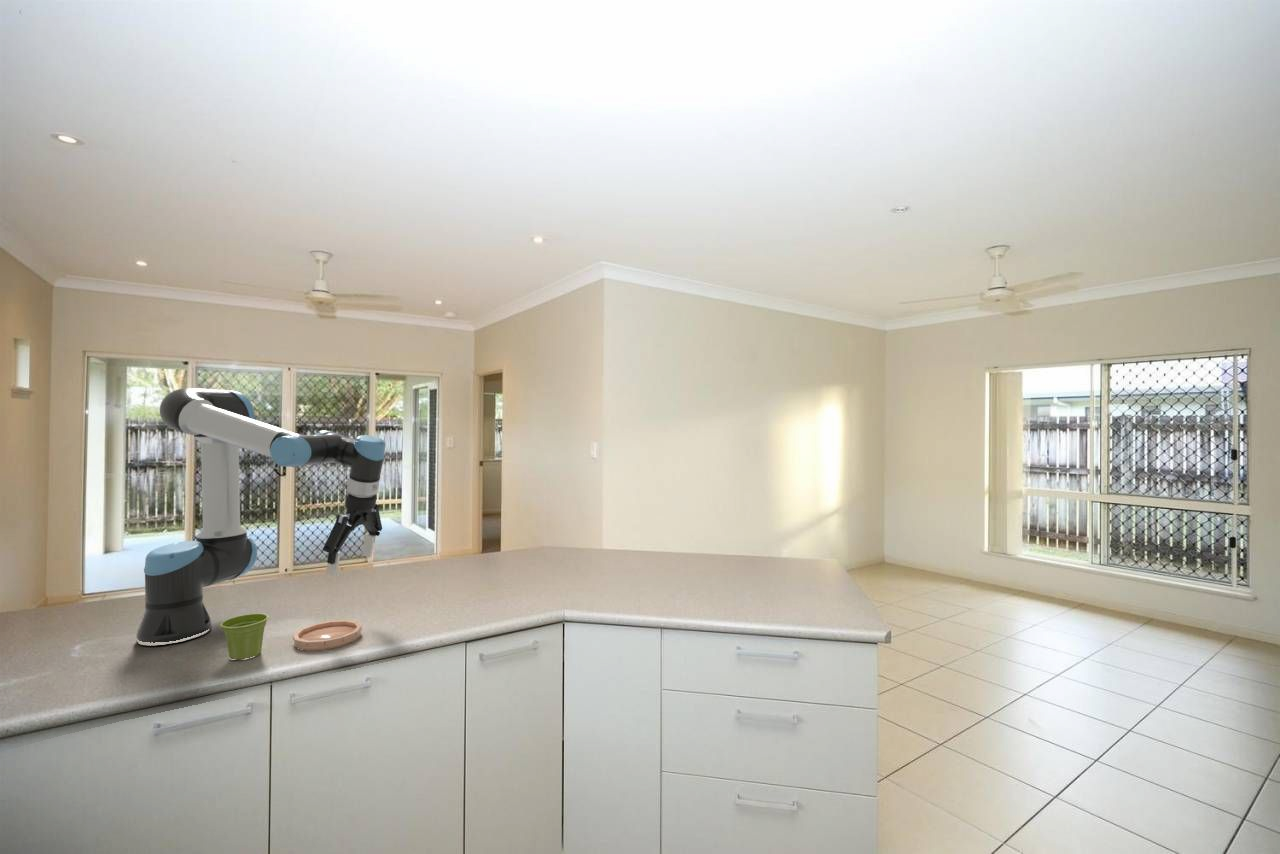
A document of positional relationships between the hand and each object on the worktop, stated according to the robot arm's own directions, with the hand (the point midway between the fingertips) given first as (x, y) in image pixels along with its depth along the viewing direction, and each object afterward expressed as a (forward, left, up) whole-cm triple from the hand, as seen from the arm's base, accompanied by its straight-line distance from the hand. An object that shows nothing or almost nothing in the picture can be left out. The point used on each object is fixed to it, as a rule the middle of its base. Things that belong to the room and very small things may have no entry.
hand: (349, 564), depth 158 cm
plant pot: (-4, -26, -16) cm, 31 cm away
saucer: (+5, -11, -16) cm, 20 cm away
